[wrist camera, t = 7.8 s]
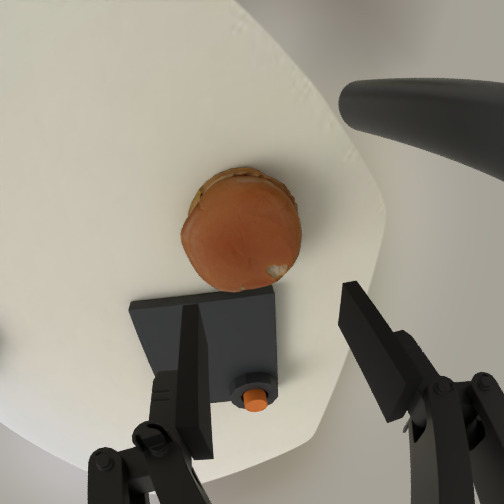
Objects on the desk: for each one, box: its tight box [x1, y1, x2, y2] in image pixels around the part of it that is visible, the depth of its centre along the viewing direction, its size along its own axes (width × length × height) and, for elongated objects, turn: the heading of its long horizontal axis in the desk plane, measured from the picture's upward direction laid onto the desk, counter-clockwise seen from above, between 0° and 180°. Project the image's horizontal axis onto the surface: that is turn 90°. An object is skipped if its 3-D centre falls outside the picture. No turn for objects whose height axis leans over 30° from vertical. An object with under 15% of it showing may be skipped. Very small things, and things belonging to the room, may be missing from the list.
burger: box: [181, 167, 301, 292], centre depth 24 cm, size 10×9×5 cm
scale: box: [129, 285, 278, 409], centre depth 32 cm, size 14×16×3 cm
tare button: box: [243, 389, 268, 412], centre depth 33 cm, size 3×3×2 cm
